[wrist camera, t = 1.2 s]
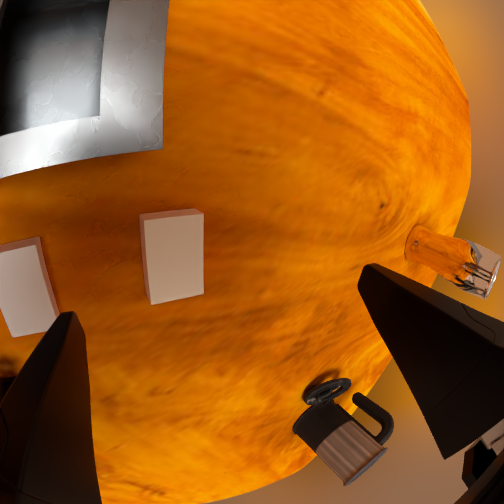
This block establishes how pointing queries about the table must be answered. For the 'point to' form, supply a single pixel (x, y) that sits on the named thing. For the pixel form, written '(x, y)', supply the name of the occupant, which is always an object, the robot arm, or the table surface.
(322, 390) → the milk frother
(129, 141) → the grey hollow block
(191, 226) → the block
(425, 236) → the beer glass
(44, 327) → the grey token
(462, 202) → the table surface
